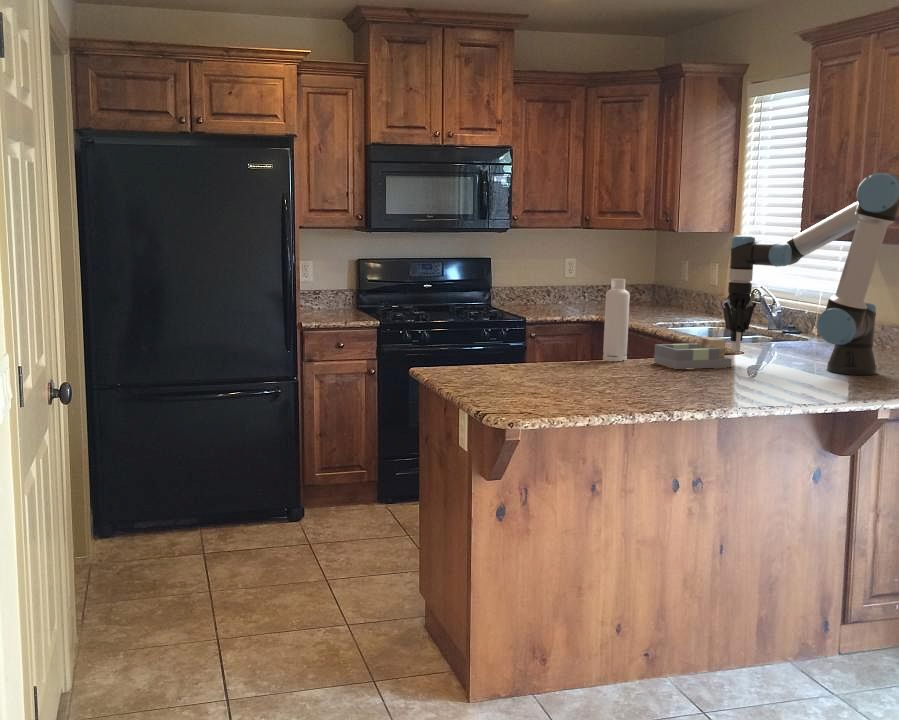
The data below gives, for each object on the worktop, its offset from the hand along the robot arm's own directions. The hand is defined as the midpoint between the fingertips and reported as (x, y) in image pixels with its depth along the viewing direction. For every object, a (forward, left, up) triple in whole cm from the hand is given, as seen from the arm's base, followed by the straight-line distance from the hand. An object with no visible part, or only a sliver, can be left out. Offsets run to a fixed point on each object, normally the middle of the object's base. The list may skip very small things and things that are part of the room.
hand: (735, 350), depth 335 cm
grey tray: (0, +17, -5) cm, 18 cm away
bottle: (+17, +37, -5) cm, 41 cm away
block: (0, +9, -2) cm, 10 cm away
